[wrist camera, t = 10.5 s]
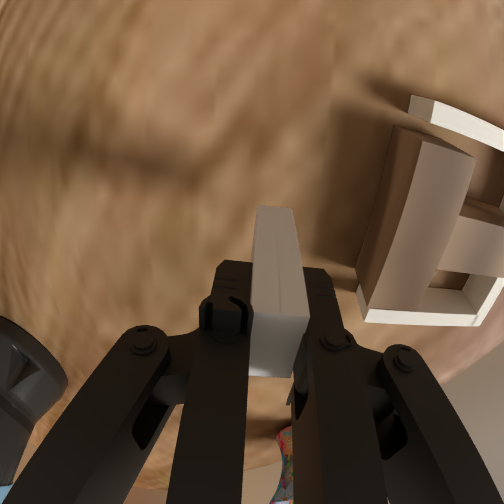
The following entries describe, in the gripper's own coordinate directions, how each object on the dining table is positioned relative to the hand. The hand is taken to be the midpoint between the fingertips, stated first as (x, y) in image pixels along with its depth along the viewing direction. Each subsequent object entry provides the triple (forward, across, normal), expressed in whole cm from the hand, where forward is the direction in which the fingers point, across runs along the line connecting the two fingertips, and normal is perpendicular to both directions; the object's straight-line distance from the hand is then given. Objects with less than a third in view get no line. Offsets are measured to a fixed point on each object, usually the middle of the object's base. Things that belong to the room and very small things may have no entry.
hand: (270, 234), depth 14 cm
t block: (+5, +12, 0) cm, 13 cm away
